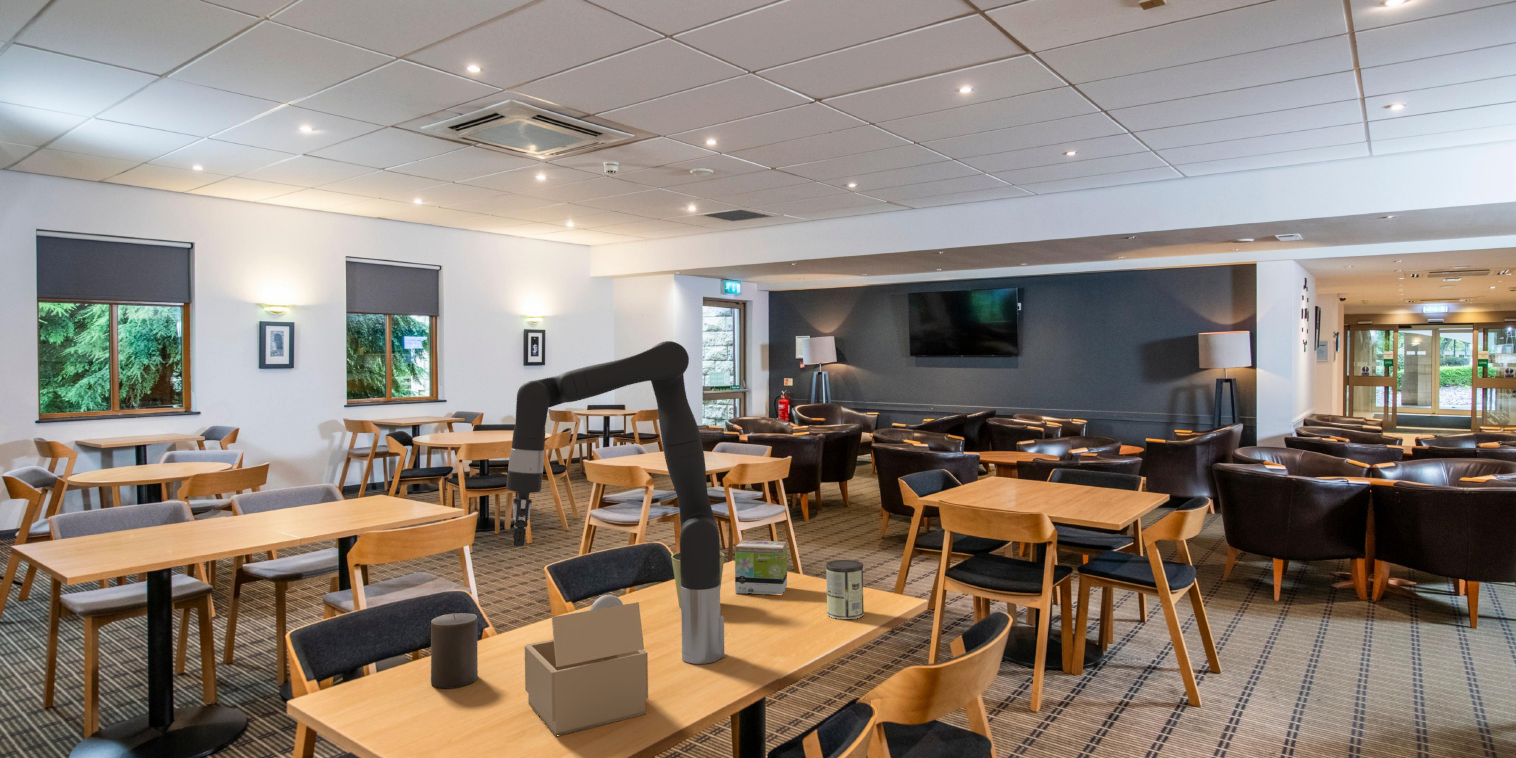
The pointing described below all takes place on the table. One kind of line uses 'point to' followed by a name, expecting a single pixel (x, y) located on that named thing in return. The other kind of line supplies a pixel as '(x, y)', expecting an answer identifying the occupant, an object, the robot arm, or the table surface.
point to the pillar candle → (454, 650)
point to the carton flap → (597, 634)
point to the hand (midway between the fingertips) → (518, 542)
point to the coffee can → (844, 589)
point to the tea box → (760, 567)
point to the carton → (585, 688)
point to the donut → (606, 602)
